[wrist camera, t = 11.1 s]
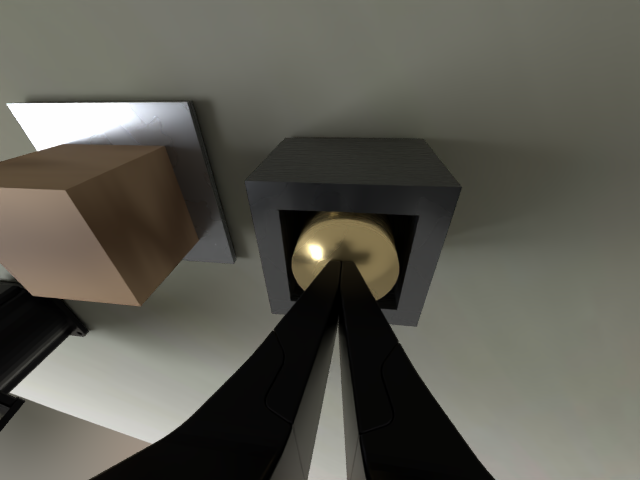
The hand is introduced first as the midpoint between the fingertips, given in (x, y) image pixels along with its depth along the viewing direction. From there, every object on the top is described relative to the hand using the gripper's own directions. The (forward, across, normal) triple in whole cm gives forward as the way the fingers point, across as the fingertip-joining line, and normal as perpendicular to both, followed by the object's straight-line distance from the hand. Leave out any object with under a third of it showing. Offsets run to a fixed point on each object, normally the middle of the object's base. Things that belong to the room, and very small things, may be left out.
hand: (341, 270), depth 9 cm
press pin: (+5, 0, 0) cm, 5 cm away
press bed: (+5, +11, 0) cm, 13 cm away
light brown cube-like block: (+5, +11, 0) cm, 12 cm away
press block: (+5, 0, 0) cm, 5 cm away
